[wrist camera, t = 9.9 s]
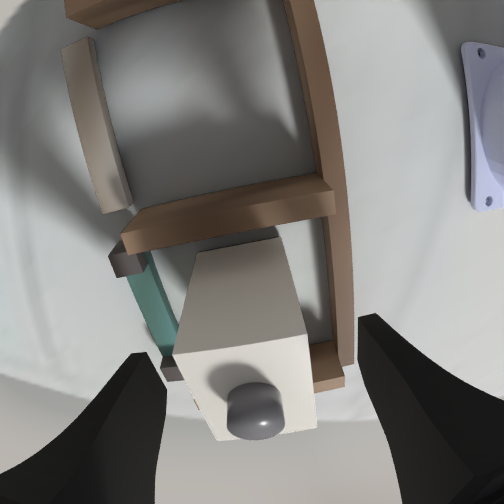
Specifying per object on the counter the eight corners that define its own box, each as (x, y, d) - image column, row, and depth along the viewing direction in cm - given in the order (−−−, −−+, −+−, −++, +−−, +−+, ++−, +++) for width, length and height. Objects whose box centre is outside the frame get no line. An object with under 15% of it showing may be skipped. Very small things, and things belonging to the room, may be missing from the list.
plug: (280, 237, 13) (314, 362, 7) (294, 322, 15) (322, 451, 9) (197, 252, 13) (166, 382, 7) (222, 335, 15) (216, 464, 9)
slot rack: (294, -36, 8) (307, -63, 6) (348, 348, 16) (360, 382, 14) (64, 27, 9) (31, 17, 7) (178, 375, 17) (171, 411, 14)
